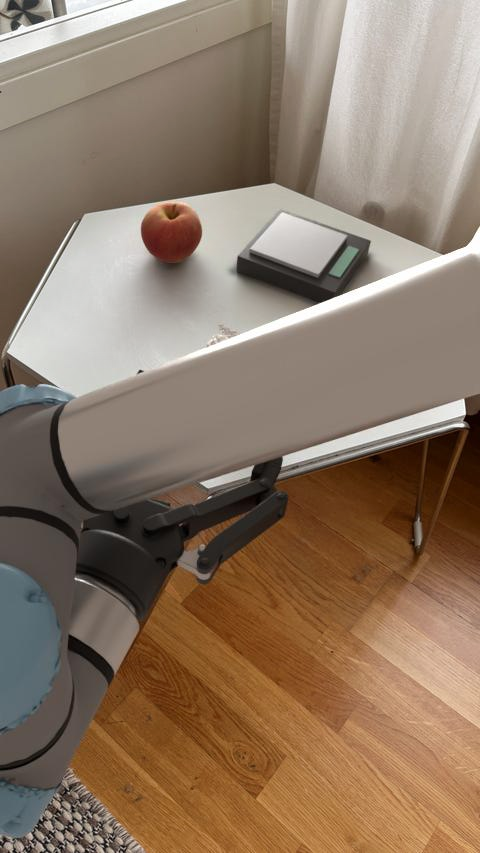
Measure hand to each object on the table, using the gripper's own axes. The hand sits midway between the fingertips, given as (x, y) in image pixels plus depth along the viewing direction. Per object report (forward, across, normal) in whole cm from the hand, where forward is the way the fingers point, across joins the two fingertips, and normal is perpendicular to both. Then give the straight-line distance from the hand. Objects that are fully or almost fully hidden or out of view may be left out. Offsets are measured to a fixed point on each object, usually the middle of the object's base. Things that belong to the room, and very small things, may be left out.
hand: (210, 403), depth 65 cm
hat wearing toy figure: (+10, 0, -11) cm, 15 cm away
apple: (+32, -19, -11) cm, 39 cm away
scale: (+38, -2, -11) cm, 40 cm away
